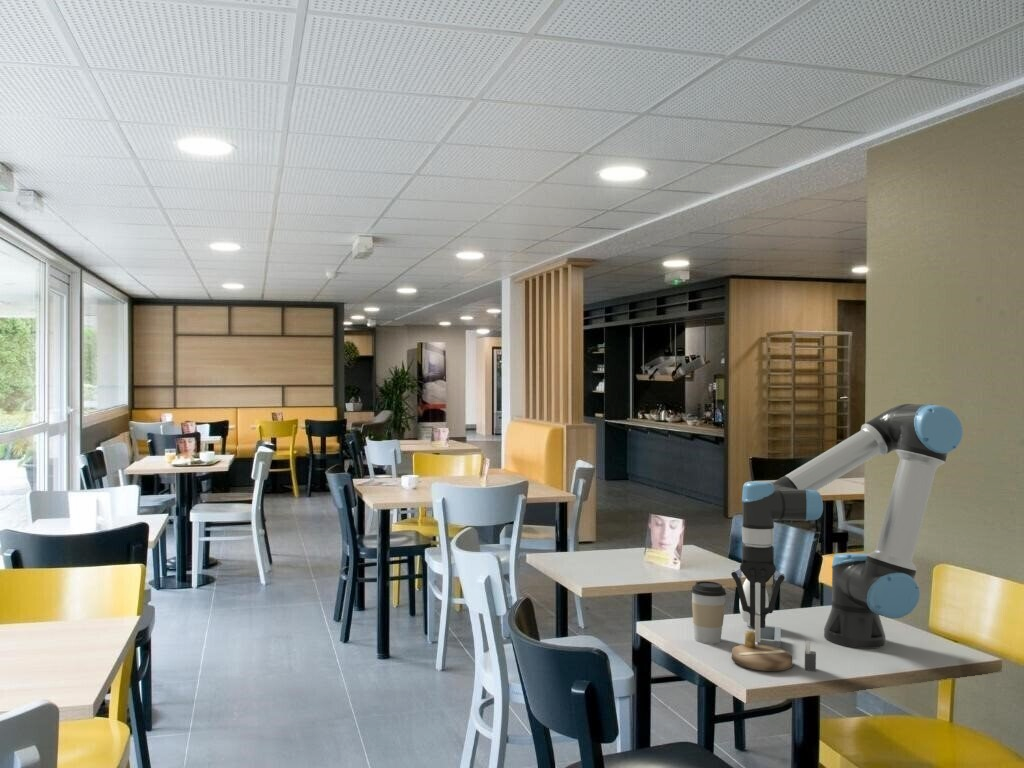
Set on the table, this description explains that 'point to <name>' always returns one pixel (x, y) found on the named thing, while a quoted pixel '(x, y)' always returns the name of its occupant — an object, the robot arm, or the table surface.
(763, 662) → the disc
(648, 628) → the table surface
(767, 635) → the pocket stop
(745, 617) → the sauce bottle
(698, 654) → the table surface
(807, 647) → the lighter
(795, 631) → the table surface
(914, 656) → the table surface
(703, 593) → the coffee cup
